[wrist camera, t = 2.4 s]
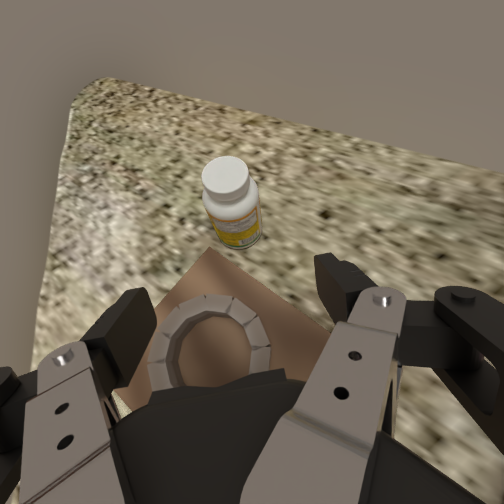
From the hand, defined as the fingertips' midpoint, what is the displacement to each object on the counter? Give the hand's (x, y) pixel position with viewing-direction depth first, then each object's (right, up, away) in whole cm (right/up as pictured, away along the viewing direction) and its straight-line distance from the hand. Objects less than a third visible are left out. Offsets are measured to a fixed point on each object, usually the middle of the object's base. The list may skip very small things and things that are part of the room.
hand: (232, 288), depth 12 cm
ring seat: (-2, -8, +12) cm, 15 cm away
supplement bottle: (-1, +4, +18) cm, 19 cm away
